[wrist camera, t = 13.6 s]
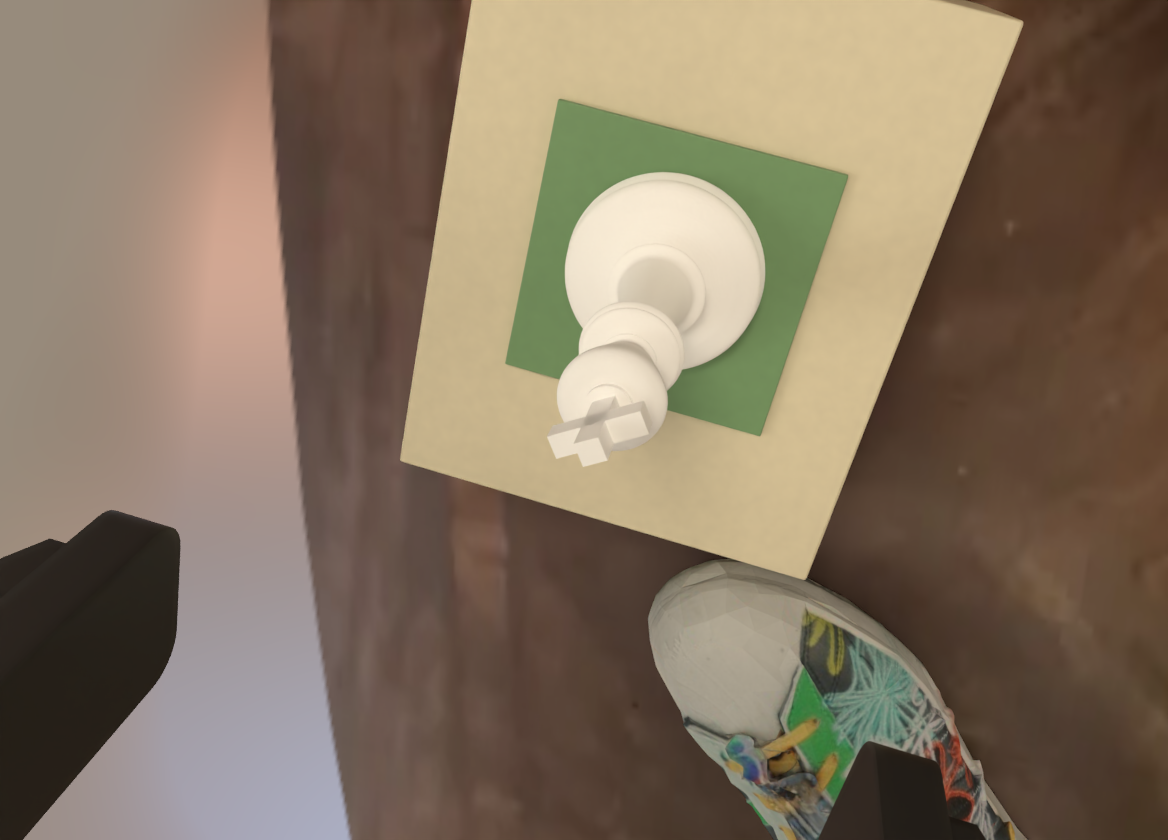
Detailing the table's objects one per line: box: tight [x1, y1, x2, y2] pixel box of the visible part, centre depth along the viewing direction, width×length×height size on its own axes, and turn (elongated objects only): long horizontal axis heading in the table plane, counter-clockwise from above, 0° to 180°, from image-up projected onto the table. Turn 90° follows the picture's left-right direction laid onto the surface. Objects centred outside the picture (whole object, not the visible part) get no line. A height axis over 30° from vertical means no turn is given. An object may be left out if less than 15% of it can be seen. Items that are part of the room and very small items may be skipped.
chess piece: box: [547, 172, 765, 467], centre depth 21 cm, size 5×5×10 cm
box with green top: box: [400, 0, 1023, 580], centre depth 28 cm, size 12×15×6 cm
